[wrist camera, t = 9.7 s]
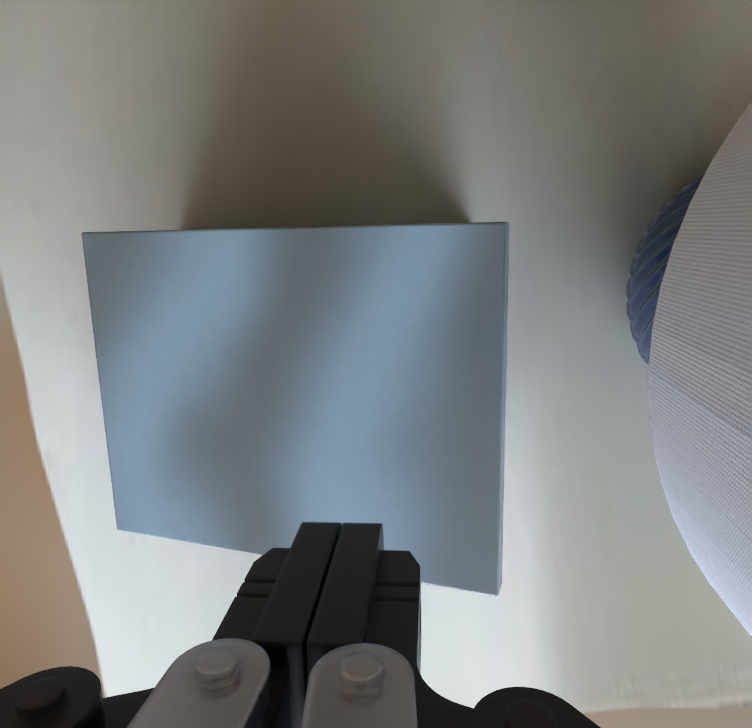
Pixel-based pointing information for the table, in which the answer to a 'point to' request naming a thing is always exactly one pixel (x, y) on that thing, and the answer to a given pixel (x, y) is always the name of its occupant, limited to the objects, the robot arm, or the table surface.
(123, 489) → the window lid
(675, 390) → the lamp
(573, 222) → the table surface
